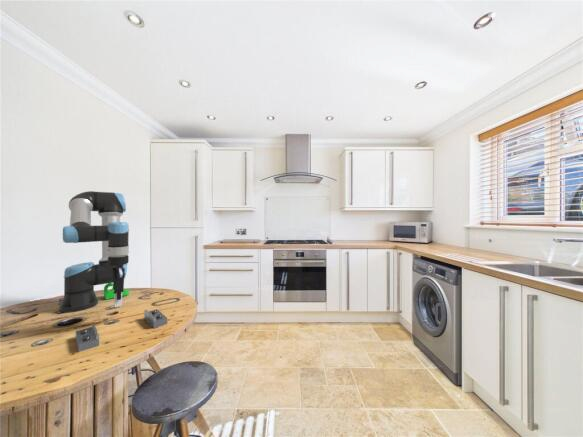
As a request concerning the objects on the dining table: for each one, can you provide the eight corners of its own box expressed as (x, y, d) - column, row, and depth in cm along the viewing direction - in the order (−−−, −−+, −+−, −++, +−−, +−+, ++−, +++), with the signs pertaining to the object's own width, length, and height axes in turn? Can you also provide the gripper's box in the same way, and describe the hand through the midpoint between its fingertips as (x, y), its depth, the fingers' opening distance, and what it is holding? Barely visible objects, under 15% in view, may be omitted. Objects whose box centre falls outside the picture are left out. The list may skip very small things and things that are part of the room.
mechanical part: (105, 299, 131) (105, 286, 131) (104, 297, 135) (103, 284, 135) (130, 294, 140) (130, 281, 140) (127, 292, 144) (127, 279, 144)
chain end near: (75, 338, 88) (75, 328, 88) (94, 333, 92) (93, 323, 92) (78, 353, 79) (78, 341, 79) (99, 346, 83) (99, 335, 83)
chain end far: (144, 318, 105) (144, 310, 105) (157, 315, 110) (157, 306, 110) (153, 328, 96) (153, 319, 96) (167, 324, 100) (167, 315, 100)
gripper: (105, 254, 104) (105, 304, 104) (110, 258, 95) (110, 313, 96) (125, 252, 109) (125, 299, 110) (131, 256, 100) (131, 307, 101)
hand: (118, 305), depth 103 cm, fingers closed
